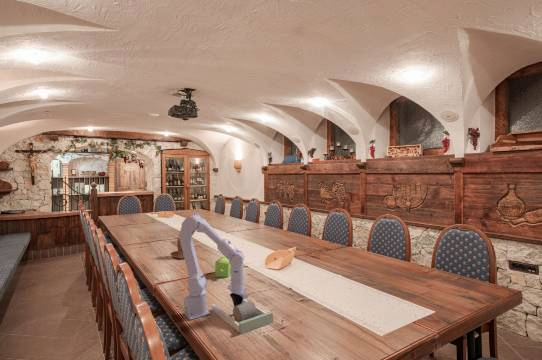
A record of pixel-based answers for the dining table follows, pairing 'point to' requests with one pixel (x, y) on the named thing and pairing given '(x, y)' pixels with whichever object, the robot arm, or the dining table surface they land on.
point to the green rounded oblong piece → (222, 267)
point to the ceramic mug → (244, 311)
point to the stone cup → (178, 253)
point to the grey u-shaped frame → (247, 324)
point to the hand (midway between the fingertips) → (237, 309)
